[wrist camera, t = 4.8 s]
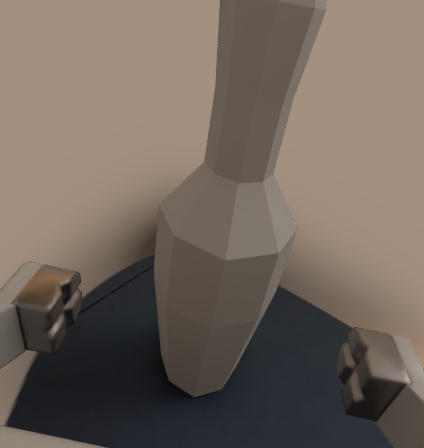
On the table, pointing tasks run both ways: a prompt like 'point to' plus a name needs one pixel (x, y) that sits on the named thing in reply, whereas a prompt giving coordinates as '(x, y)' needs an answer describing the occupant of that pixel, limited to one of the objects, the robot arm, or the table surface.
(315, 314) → the table surface
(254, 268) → the low poly bottle
